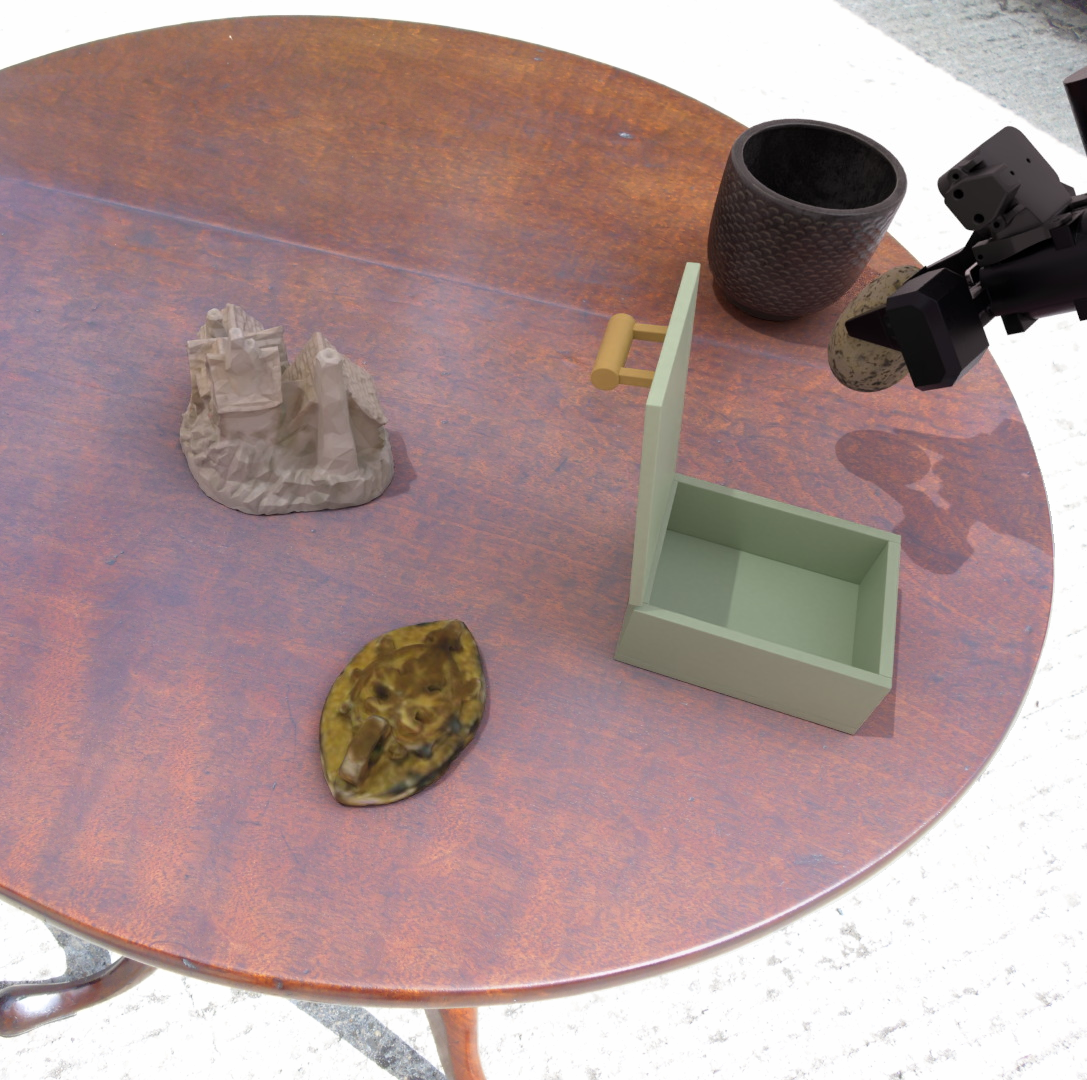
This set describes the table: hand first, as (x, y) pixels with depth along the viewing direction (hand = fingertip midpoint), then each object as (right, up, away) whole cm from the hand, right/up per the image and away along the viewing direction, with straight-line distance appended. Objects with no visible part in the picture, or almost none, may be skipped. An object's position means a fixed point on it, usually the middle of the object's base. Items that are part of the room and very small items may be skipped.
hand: (870, 310), depth 74 cm
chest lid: (-17, -10, -10) cm, 22 cm away
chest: (-9, -21, -1) cm, 23 cm away
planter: (+1, +6, +22) cm, 23 cm away
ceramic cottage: (-41, -8, +9) cm, 43 cm away
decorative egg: (+1, -5, +4) cm, 6 cm away
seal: (-33, -27, -6) cm, 43 cm away
